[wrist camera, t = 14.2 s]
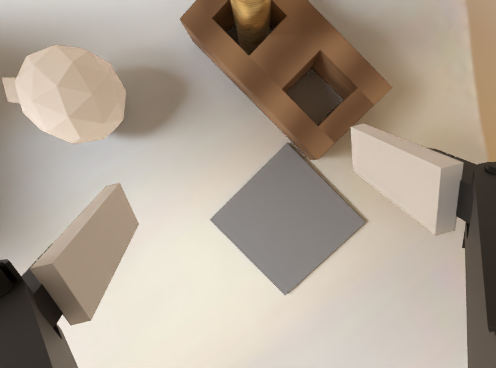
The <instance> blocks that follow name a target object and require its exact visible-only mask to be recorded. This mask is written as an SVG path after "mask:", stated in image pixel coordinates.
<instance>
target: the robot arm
mask: <svg viewBox="0 0 496 368" xmlns="http://www.w3.org/2000/svg"><path fill="white" fill-rule="evenodd" d="M351 144H352V161H353V172H354V173H355V174H357V175H358V176H359V177H361V178H362V179H363V180H364V181H366V182H367V183H368V184H370V185H371V186H372V187H373V188H375V189H376V190H377V191H379V192H380V193H381V194H382V195H384V196H385V197H386V198H388V199H389V200H390V201H391V202H393V203H394V204H395V205H397V206H398V207H399V208H400V209H402V210H403V211H404V212H406V213H407V214H408V215H409V216H411V217H412V218H413V219H415V220H416V221H417V222H418V223H420V224H421V225H422V226H424V227H425V228H426V229H427V230H429V231H430V232H431V233H433V234H434V235H439V234H443V233H447V232H451V231H455V226H456V218H457V217H459V218H461V219H462V220H464V221H465V222H466V225H465V232H464V239H463V246H462V248H465V265H466V306H467V347H468V368H496V162H487V163H481V164H478V165H476V164H474V163H471V162H468V161H466V160H463V159H460V158H458V157H454V156H452V155H450V154H446V153H445V152H442V151H439V150H437V149H431V148H425V147H423V146H420V145H418V144H415V143H413V142H410V141H407V140H405V139H402V138H400V137H397V136H395V135H392V134H390V133H387V132H384V131H382V130H379V129H377V128H374V127H372V126H369V125H367V124H360V125H355V126H351ZM138 225H139V224H138V221H137V219H136V217H135V215H134V213H133V211H132V208H131V206H130V204H129V202H128V200H127V198H126V195H125V193H124V191H123V189H122V187H121V185H120V183H117V184H113V185H109V186H106V187H105V188H104V189H103V190H102V191H101V192H100V193H99V194H98V195H97V197H96V198H95V199H94V200H93V201H92V202H91V203H90V204H89V205H88V206H87V207H86V208H85V209H84V211H83V212H82V213H81V214H80V215H79V216H78V217H77V218H76V219H75V220H74V221H73V222H72V224H71V225H70V226H69V227H68V228H67V229H66V230H65V231H64V232H63V233H62V234H61V235H60V237H59V238H58V239H57V240H56V241H55V242H54V243H53V244H51V245H50V246H49V247H48V248H47V250H46V251H45V252H44V254H42V255H41V256H40V257H39V258H38V260H37V261H35V262H34V263H33V265H32V266H31V267H30V268H29V269H28V270H27V271H26V272H25V273H24V274H23V275H22V276H20V274H19V273H18V272H17V270H16V269H15V268H14V266H13V265H12V264H11V262H10V261H9V260H7V259H6V260H0V368H78V367H77V364H76V362H75V360H74V357H73V355H72V353H71V350H70V348H69V346H68V344H67V341H66V339H65V337H64V334H63V332H62V330H61V329H60V327H59V326H58V325H57V322H58V320H59V319H60V317H61V316H62V314H63V316H64V317H65V318H66V320H67V321H68V322H69V324H70V325H74V324H78V323H82V322H86V321H90V320H91V319H92V317H93V315H94V313H95V311H96V309H97V307H98V305H99V303H100V301H101V299H102V297H103V295H104V293H105V291H106V289H107V287H108V285H109V283H110V281H111V279H112V277H113V275H114V273H115V271H116V269H117V267H118V265H119V263H120V261H121V259H122V257H123V255H124V253H125V251H126V249H127V247H128V245H129V243H130V241H131V239H132V237H133V235H134V233H135V231H136V229H137V227H138Z"/></svg>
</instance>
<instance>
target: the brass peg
mask: <svg viewBox="0 0 496 368" xmlns="http://www.w3.org/2000/svg"><path fill="white" fill-rule="evenodd" d="M230 1H231V6H232V11H233V15H234V20H235V25H236V30H237V35H238V39H239V44H240V47H241V48H242V49H243V50H244V51H245V52H246V53H247V54H248V55H251V53H252V52H253V51H254V50H255V49H256V48H257V47H258V46H259V45H260V44H261V43H262V42H263V41H264V40H265V39H266V38H267V37H268V36H269V30H270V6H271V0H230Z"/></svg>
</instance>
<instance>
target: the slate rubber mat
mask: <svg viewBox="0 0 496 368" xmlns="http://www.w3.org/2000/svg"><path fill="white" fill-rule="evenodd" d="M210 220H211V221H212V222H213V223H214V224H215V225H216V226H217V227H218V228H219V229H220V230H221V231H222V232H223V233H224V234H225V235H226V236H227V237H228V238H229V239H230V240H231V241H232V242H233V243H234V244H235V245H236V246H237V247H238V248H239V249H240V250H241V251H242V252H243V253H244V254H245V255H246V256H247V258H248V259H249V260H250V261H251V262H252V263H253V264H254V265H255V266H256V267H257V268H258V269H259V270H260V271H261V272H262V273H263V274H264V275H265V276H266V277H267V278H268V279H269V280H270V281H271V282H272V283H273V284H274V285H275V286H276V287H277V288H278V289H279V290H280V291H281V292H282V293H283V294H284V295H286V294H287V293H288V292H290V291H291V290H292V289H293V288H294V287H295V286H296V285H297V284H298V283H299V282H301V281H302V280H303V279H304V278H305V277H306V276H307V275H308V274H309V273H310V272H312V271H313V270H314V269H315V268H316V267H317V266H318V265H319V264H320V263H321V262H323V261H324V260H325V259H326V258H327V257H328V256H329V255H330V254H331V253H332V252H334V251H335V250H336V249H337V248H338V247H339V246H340V245H341V244H342V243H343V242H345V241H346V240H347V239H348V238H349V237H350V236H351V235H352V234H353V233H354V232H356V231H357V230H358V229H359V228H360V227H361V226H362V225H363V224H364V223H365V221H364V220H363V219H362V218H361V217H360V216H359V215H358V214H357V213H356V212H355V211H354V210H353V209H352V208H351V207H350V206H349V205H348V204H347V203H346V202H345V201H344V200H343V199H342V198H341V197H340V196H339V195H338V194H337V193H336V192H335V191H334V190H333V189H332V188H331V187H330V186H329V185H328V184H327V183H326V182H325V181H324V180H323V179H322V178H321V177H320V176H319V175H318V174H317V173H316V172H315V171H314V170H313V169H312V168H311V167H310V166H309V165H308V163H307V162H306V161H305V160H304V159H303V158H302V157H301V156H300V155H299V154H298V153H297V152H296V151H295V150H294V149H293V148H292V147H291V146H290V145H289V144H288V143H287V144H286V145H285V146H284V147H283V148H282V149H281V150H280V151H279V152H278V153H277V154H276V155H275V156H274V157H273V158H272V159H271V160H270V161H269V162H268V163H267V164H266V165H265V166H264V167H263V168H262V169H261V170H260V171H259V172H258V173H257V174H256V175H255V176H254V177H253V178H252V179H251V180H250V181H249V182H248V183H247V184H246V185H245V186H244V187H243V188H242V189H241V190H239V191H238V192H237V193H236V194H235V195H234V196H233V197H232V198H231V199H230V200H229V201H228V202H227V203H226V204H225V205H224V206H223V207H222V208H221V209H220V210H219V211H218V212H217V213H216V214H215V215H214V216H213V217H212V218H211V219H210Z"/></svg>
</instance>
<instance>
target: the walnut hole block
mask: <svg viewBox="0 0 496 368" xmlns="http://www.w3.org/2000/svg"><path fill="white" fill-rule="evenodd" d="M180 21H181V22H182V24H183V25H184V27H185V29H186V30H187V32H188V34H189V35H190V37H191V39H192V40H193V42H194V43H195V44H196V45H197V46H198V47H199V48H200V49H201V50H202V51H203V52H204V53H205V54H206V55H207V56H208V57H209V58H210V59H211V60H212V61H213V62H214V63H215V64H216V65H217V66H218V67H219V68H220V69H221V70H222V71H223V72H224V73H225V74H226V75H227V76H228V77H229V78H230V79H231V80H232V81H233V82H234V83H235V84H236V85H237V86H238V87H239V88H240V89H241V90H242V91H243V92H244V93H245V94H246V95H247V96H248V98H249V99H250V100H251V101H252V102H253V103H254V104H255V105H256V106H257V107H258V108H259V109H260V110H261V111H262V112H263V113H264V114H265V115H266V116H267V117H268V118H269V119H270V120H271V121H272V122H273V123H274V124H275V125H276V126H277V127H278V128H279V129H280V130H281V131H282V132H283V133H284V134H285V135H286V136H287V137H288V138H289V139H290V140H291V141H292V142H293V143H294V144H295V145H296V146H297V147H298V148H299V149H300V150H301V151H302V152H303V153H304V154H305V155H306V156H307V157H308V158H309V159H310V160H315V159H319V158H320V157H321V156H322V155H323V154H324V153H325V152H326V151H327V150H328V149H329V148H330V147H331V146H332V145H333V144H334V143H335V142H336V141H337V140H338V139H339V138H340V137H341V136H342V135H344V134H345V133H346V132H347V131H348V130H349V129H350V128H351V126H353V125H354V124H355V123H356V122H357V121H358V120H359V119H360V118H361V117H362V116H363V115H364V114H365V113H366V112H367V111H368V110H369V109H370V108H372V107H373V106H374V105H375V104H376V103H377V102H378V101H379V100H380V99H381V98H382V97H383V96H384V95H385V94H386V93H387V92H388V91H389V90H390V89H391V88H392V87H391V86H390V84H389V83H388V82H387V81H386V80H385V79H384V78H383V77H382V76H381V75H380V74H379V73H378V72H377V71H376V70H375V69H374V68H373V67H372V66H371V65H370V64H369V63H368V62H367V61H366V60H365V59H364V58H363V57H362V56H361V55H360V54H359V53H358V52H357V51H356V50H355V49H354V48H353V47H352V46H351V45H350V44H349V42H348V41H347V40H346V39H345V38H344V37H343V36H342V35H341V34H340V33H339V32H338V31H337V30H336V29H335V28H334V27H333V26H332V25H331V24H330V23H329V22H328V21H327V20H326V19H325V18H324V17H323V16H322V15H321V14H320V13H319V12H318V11H317V10H316V9H315V8H314V7H313V6H312V5H311V4H310V3H309V2H308V0H271V6H270V25H271V26H272V27H273V28H274V30H273V31H272V32H271V33H270V34H269V36H268V37H267V38H266V39H265V40H264V41H263V42H262V43H261V44H260V45H259V46H258V47H257V48H256V49H255V50H254V51H253V52H252V53H251V55H250V56H249V55H248V54H247V53H246V52H245V51H244V50H243V49H242V48H241V47H240V46H239V45H238V44H237V43H236V42H235V41H234V40H233V39H232V38H231V37H230V36H229V35H228V34H227V32H228V31H229V30H230V29H231V28H232V27H233V26H234V25H235V20H234V15H233V11H232V6H231V1H230V0H196V1H195V3H194V4H193V5H192V6H191V7H190V8H189V9H188V10H187V11H186V13H185V14H184V15H183V16H182V17H181V18H180ZM311 67H312V68H313V69H314V70H315V71H316V72H317V73H318V74H319V75H320V76H321V77H322V78H323V79H324V80H325V81H326V82H327V83H328V84H329V85H330V86H331V87H332V88H333V89H334V90H335V91H336V92H337V93H338V94H339V95H340V96H341V97H342V98H343V99H344V100H343V101H342V102H341V103H340V104H338V105H337V106H336V107H335V108H334V109H333V110H332V111H331V112H330V113H329V114H328V115H327V116H326V117H325V118H324V119H323V120H322V121H321V122H320V123H319V124H318V125H316V124H315V123H314V122H313V121H312V120H311V118H310V117H309V116H308V115H307V114H306V113H305V112H304V111H303V110H302V109H301V108H300V107H299V106H298V105H297V104H296V103H295V102H294V101H293V100H292V99H291V98H290V97H289V96H288V95H287V94H286V93H287V92H288V91H289V90H290V89H291V88H292V87H293V86H294V85H295V84H296V83H297V82H298V81H299V80H300V79H301V78H302V77H303V76H304V75H305V74H306V73H307V71H308V70H309V69H310V68H311Z"/></svg>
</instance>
